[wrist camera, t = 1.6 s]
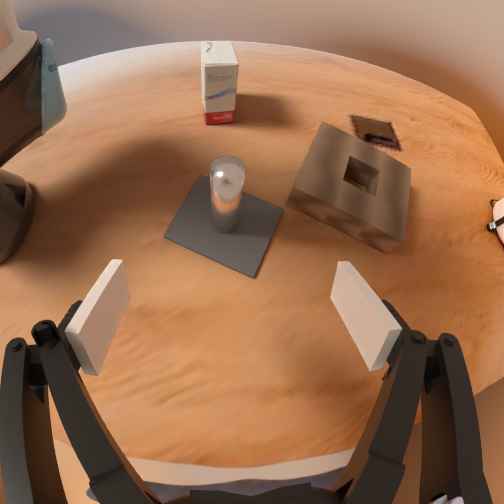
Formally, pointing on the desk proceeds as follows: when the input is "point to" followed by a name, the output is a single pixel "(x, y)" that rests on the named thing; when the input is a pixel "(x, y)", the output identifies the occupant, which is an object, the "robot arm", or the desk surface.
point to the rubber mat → (231, 244)
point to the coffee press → (498, 218)
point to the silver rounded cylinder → (226, 192)
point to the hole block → (354, 189)
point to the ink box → (218, 81)
